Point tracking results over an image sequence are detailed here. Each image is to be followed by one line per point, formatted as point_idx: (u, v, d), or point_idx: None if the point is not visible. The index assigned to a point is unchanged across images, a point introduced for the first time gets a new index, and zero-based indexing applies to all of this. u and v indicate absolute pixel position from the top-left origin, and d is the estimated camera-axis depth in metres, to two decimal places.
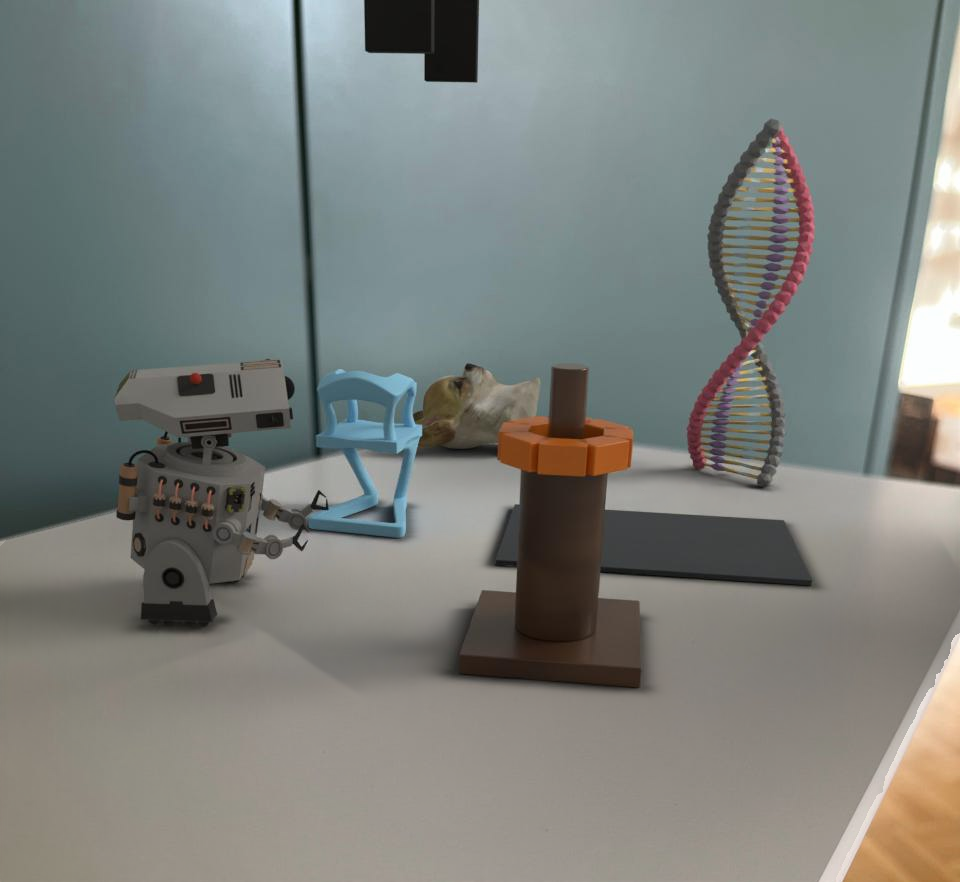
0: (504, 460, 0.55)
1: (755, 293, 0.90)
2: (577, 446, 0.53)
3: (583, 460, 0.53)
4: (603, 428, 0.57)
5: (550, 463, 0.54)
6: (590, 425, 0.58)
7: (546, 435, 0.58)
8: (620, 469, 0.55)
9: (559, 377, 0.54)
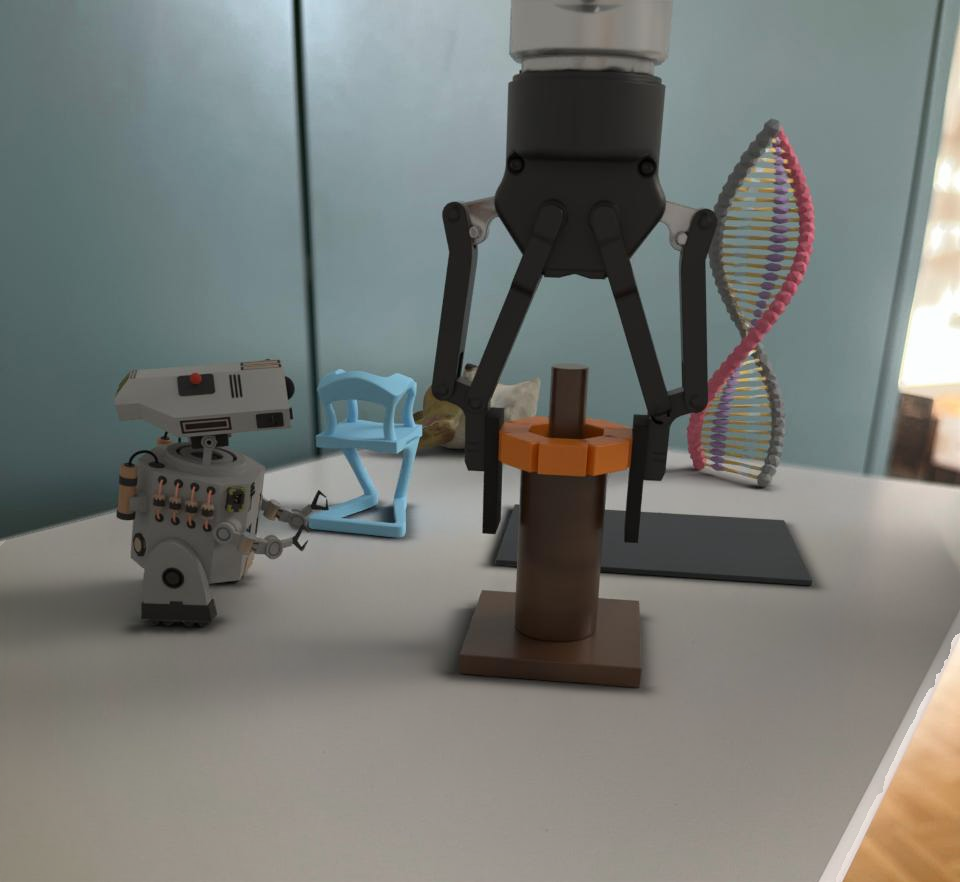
0: (504, 460, 0.55)
1: (755, 293, 0.90)
2: (577, 446, 0.53)
3: (583, 460, 0.53)
4: (603, 428, 0.57)
5: (550, 463, 0.54)
6: (590, 425, 0.58)
7: (546, 435, 0.58)
8: (620, 469, 0.55)
9: (559, 377, 0.54)
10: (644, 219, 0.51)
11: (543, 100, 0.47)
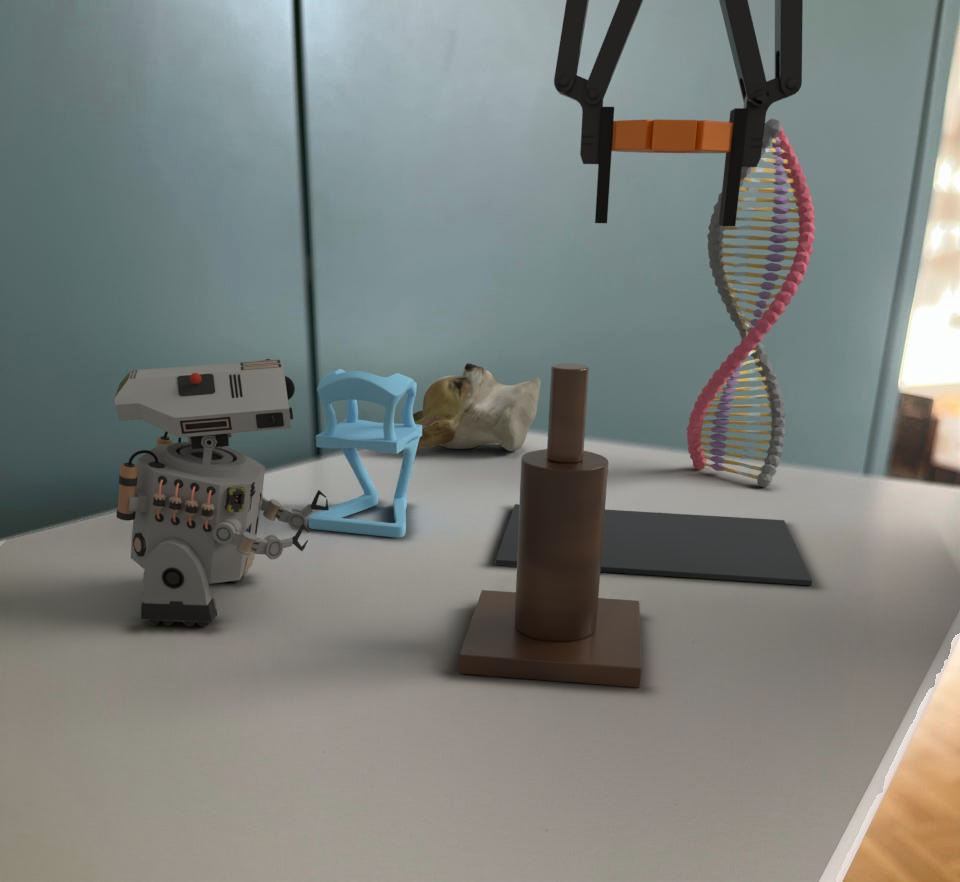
0: (619, 145, 0.62)
1: (755, 293, 0.90)
2: (688, 120, 0.60)
3: (693, 134, 0.60)
4: None
5: (663, 138, 0.60)
6: None
7: None
8: (723, 149, 0.62)
9: (559, 377, 0.54)
10: None
11: None
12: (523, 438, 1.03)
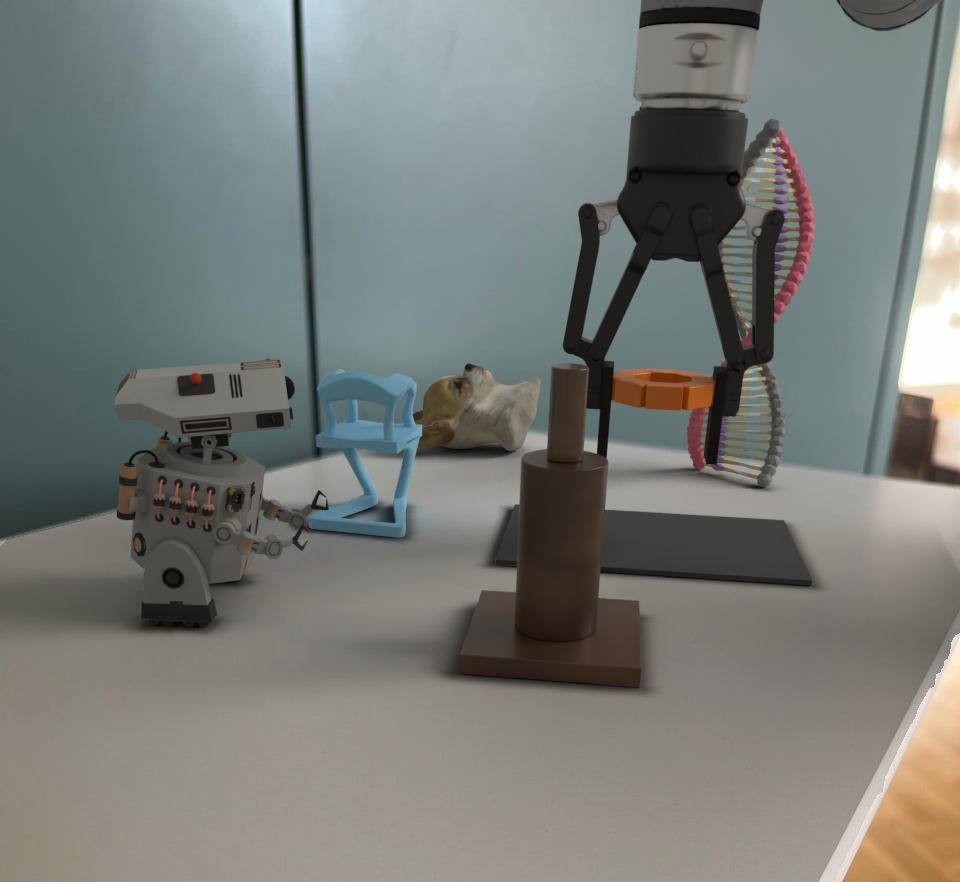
0: (617, 399, 0.73)
1: None
2: (676, 387, 0.71)
3: (680, 398, 0.71)
4: (690, 376, 0.75)
5: (655, 400, 0.71)
6: (680, 374, 0.75)
7: None
8: (706, 406, 0.72)
9: (559, 377, 0.54)
10: (730, 217, 0.68)
11: (661, 130, 0.65)
12: (523, 438, 1.03)
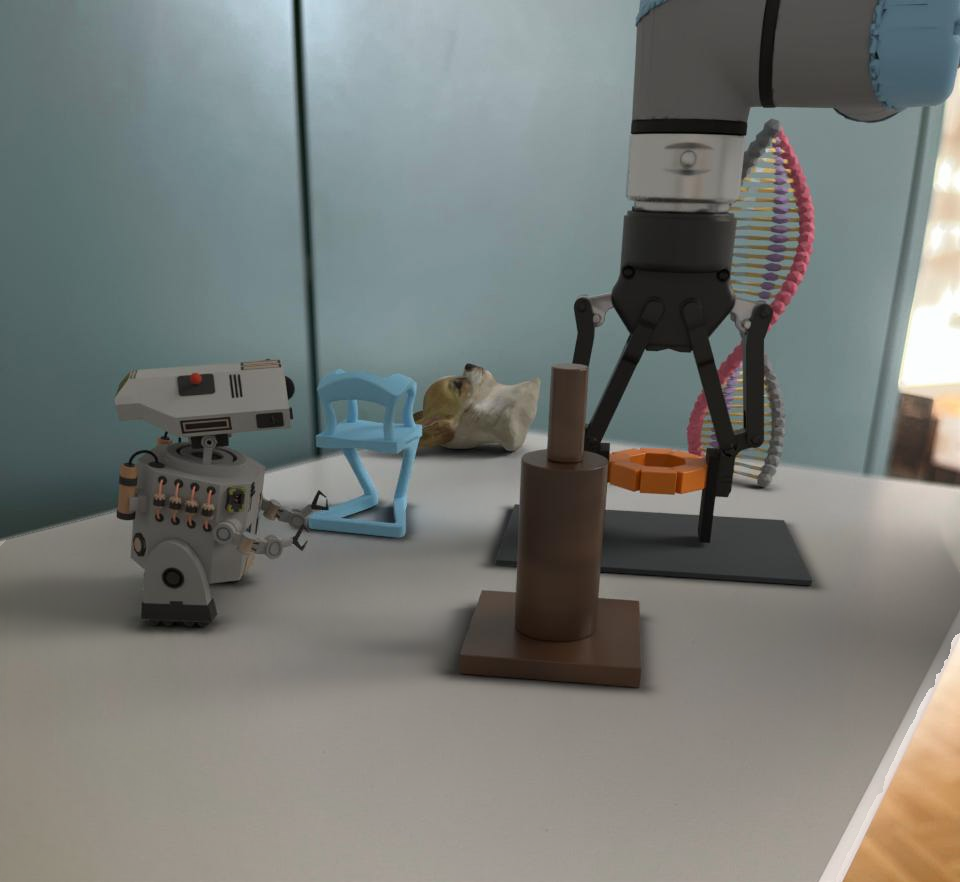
0: (613, 482, 0.76)
1: (755, 293, 0.90)
2: (669, 472, 0.73)
3: (674, 483, 0.73)
4: (684, 458, 0.77)
5: (649, 485, 0.74)
6: (673, 455, 0.78)
7: (640, 463, 0.78)
8: (699, 489, 0.75)
9: (559, 377, 0.54)
10: (720, 311, 0.71)
11: (653, 232, 0.67)
12: (523, 438, 1.03)
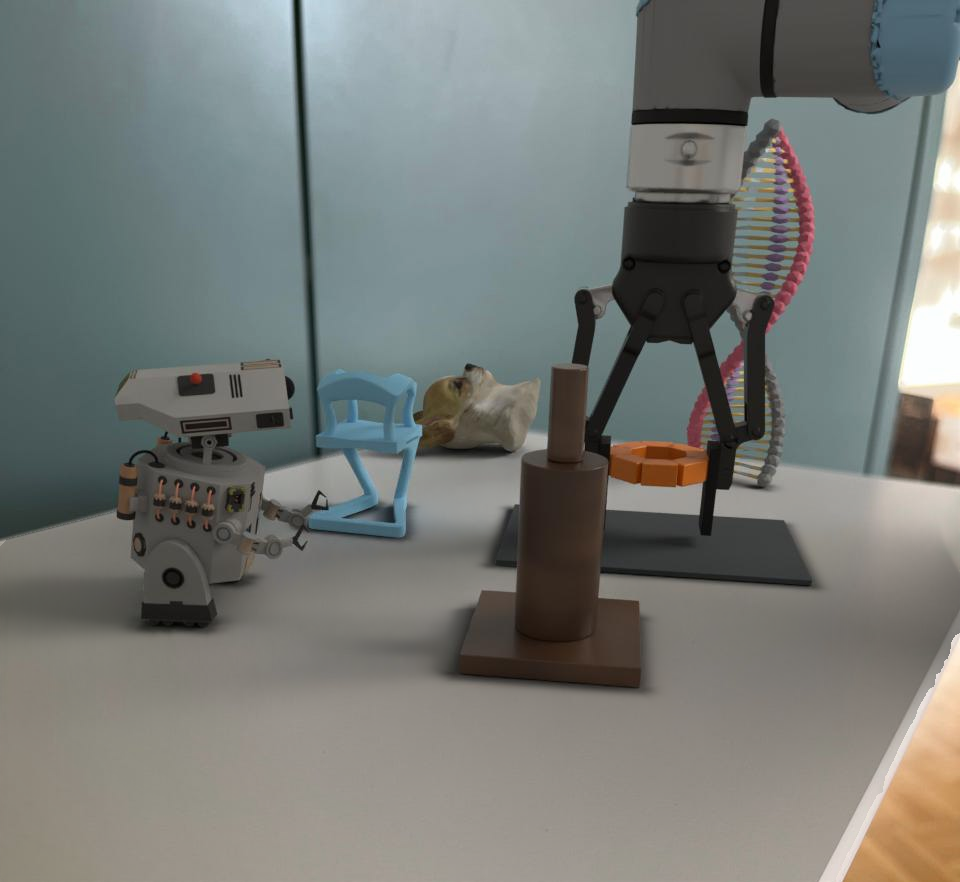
0: (614, 475, 0.75)
1: None
2: (670, 465, 0.73)
3: (675, 475, 0.73)
4: (685, 451, 0.77)
5: (650, 477, 0.73)
6: (675, 448, 0.78)
7: (641, 456, 0.78)
8: (700, 481, 0.75)
9: (559, 377, 0.54)
10: (721, 302, 0.70)
11: (654, 223, 0.67)
12: (523, 438, 1.03)
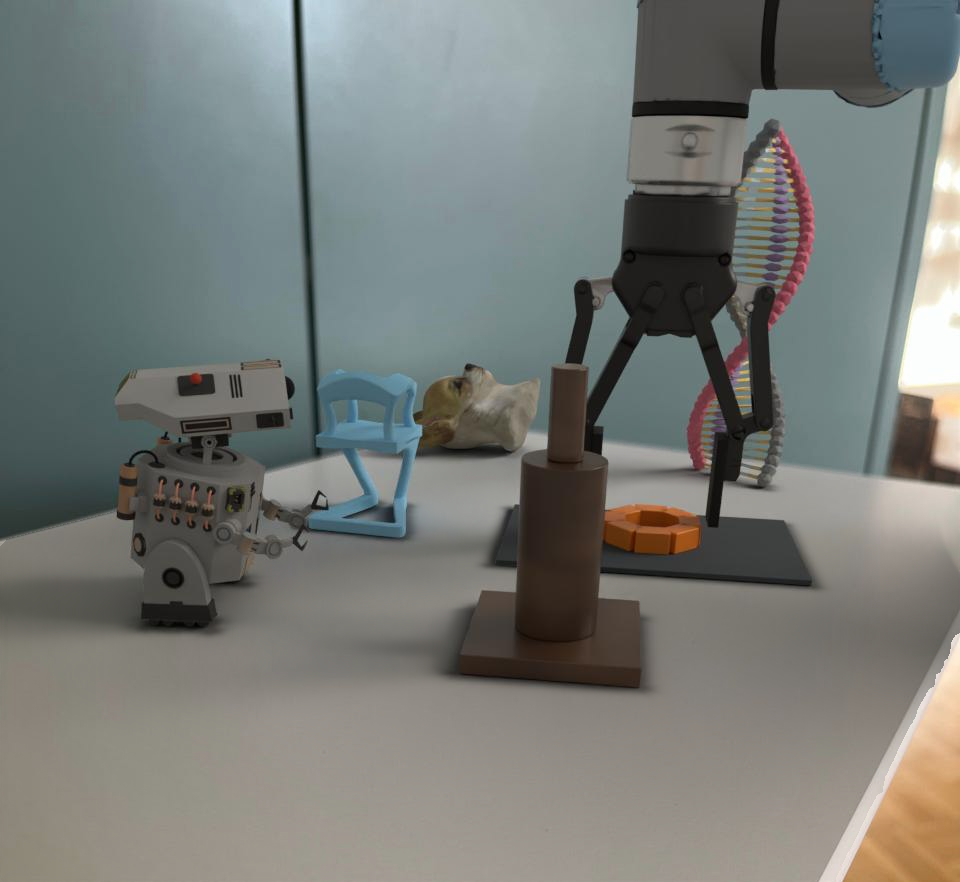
0: (608, 541, 0.77)
1: None
2: (663, 533, 0.75)
3: (667, 543, 0.75)
4: (678, 516, 0.79)
5: (644, 545, 0.75)
6: (668, 513, 0.80)
7: (635, 520, 0.80)
8: (692, 548, 0.77)
9: (559, 377, 0.54)
10: (722, 295, 0.70)
11: (654, 216, 0.67)
12: (523, 438, 1.03)
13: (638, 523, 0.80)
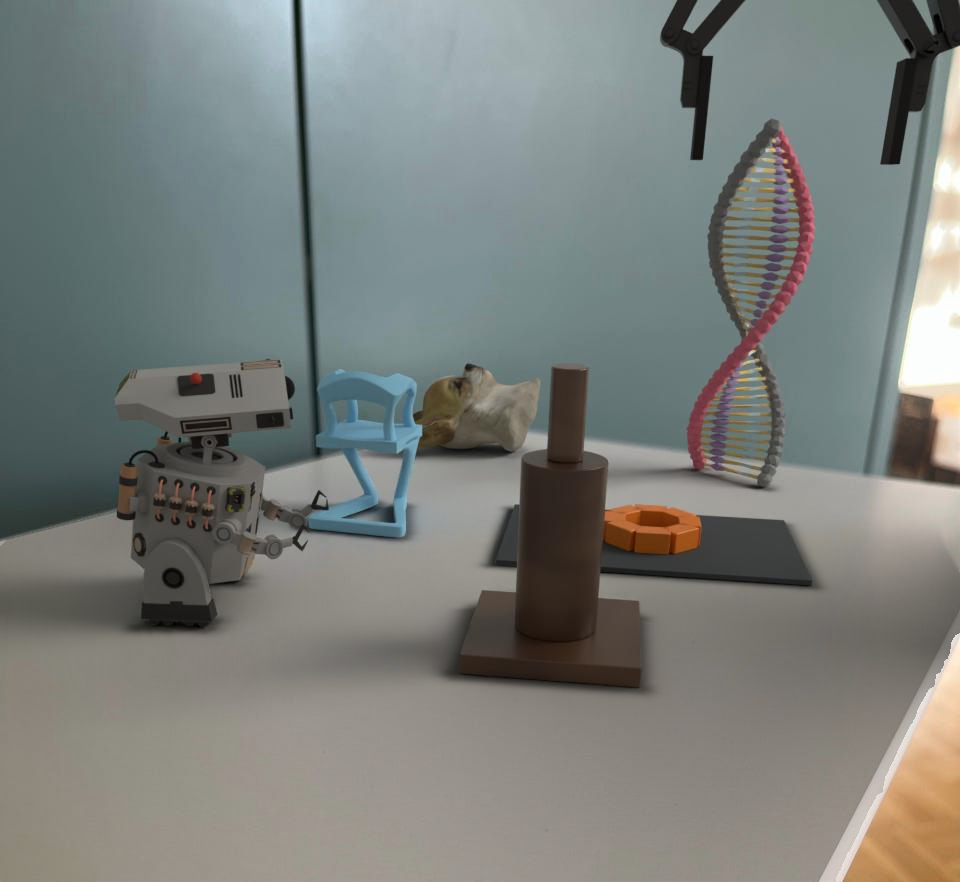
0: (608, 541, 0.77)
1: (755, 293, 0.90)
2: (663, 533, 0.75)
3: (667, 543, 0.75)
4: (678, 516, 0.79)
5: (644, 545, 0.75)
6: (668, 513, 0.80)
7: (635, 520, 0.80)
8: (692, 548, 0.77)
9: (559, 377, 0.54)
10: None
11: None
12: (523, 438, 1.03)
13: (638, 523, 0.80)
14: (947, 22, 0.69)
